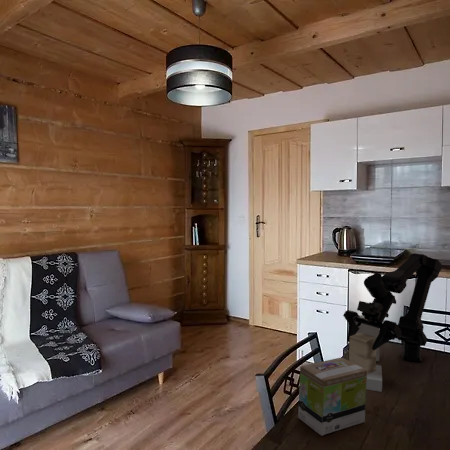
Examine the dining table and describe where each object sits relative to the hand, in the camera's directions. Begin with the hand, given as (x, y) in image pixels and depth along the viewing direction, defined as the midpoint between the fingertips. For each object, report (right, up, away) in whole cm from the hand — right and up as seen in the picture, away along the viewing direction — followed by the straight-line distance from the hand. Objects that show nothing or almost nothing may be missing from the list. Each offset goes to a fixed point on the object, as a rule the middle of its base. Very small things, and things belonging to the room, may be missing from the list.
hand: (360, 345), depth 129 cm
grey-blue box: (+1, -13, +2) cm, 13 cm away
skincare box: (+9, -11, +20) cm, 25 cm away
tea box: (-15, -14, -22) cm, 30 cm away
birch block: (+1, -8, +2) cm, 9 cm away
